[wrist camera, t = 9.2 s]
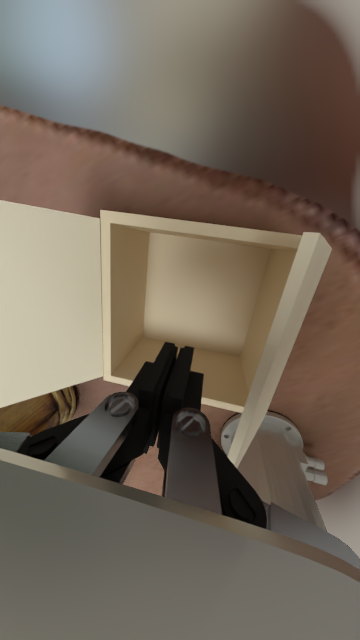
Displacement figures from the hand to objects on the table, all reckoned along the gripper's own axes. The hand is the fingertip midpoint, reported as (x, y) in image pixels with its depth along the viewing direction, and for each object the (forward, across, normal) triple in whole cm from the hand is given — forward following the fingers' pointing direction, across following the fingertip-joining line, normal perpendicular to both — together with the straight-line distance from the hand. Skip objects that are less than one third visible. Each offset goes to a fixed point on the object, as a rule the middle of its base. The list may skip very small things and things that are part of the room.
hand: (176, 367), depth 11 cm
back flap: (+3, +11, 0) cm, 11 cm away
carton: (+16, 0, 0) cm, 16 cm away
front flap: (+3, -6, 0) cm, 6 cm away
